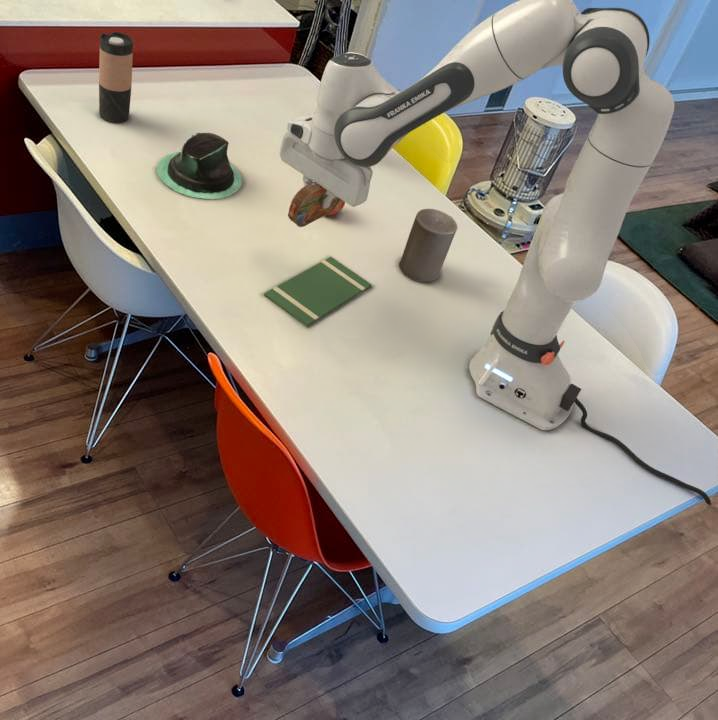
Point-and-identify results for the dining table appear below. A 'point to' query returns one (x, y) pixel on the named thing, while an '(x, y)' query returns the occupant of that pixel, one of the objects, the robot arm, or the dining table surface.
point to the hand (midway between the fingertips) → (316, 201)
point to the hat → (201, 168)
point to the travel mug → (115, 76)
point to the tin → (309, 205)
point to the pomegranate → (337, 207)
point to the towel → (317, 291)
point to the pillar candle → (427, 245)
